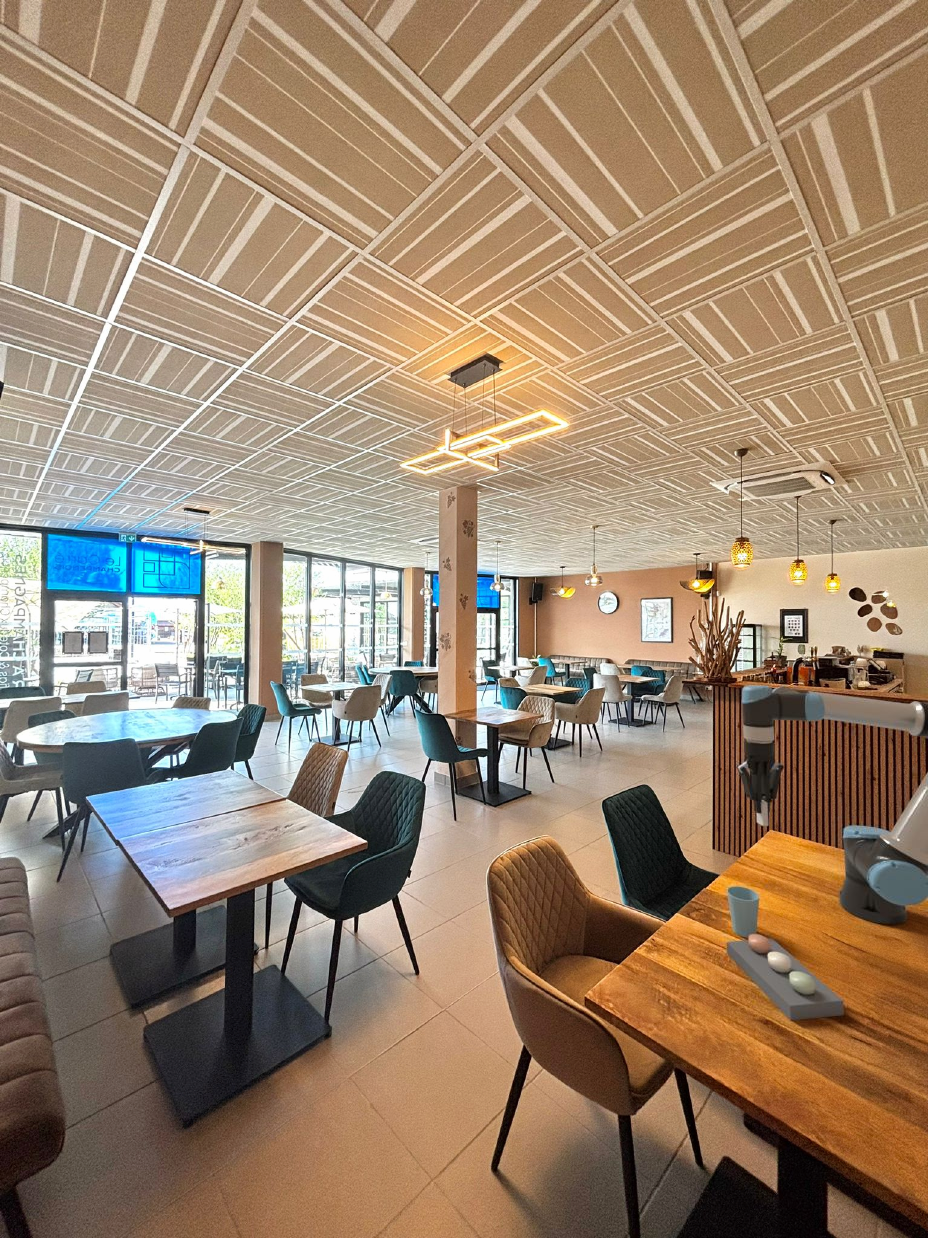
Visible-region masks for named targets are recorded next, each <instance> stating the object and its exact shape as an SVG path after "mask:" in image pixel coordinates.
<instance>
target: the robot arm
mask: <svg viewBox="0 0 928 1238" xmlns="http://www.w3.org/2000/svg"><path fill="white" fill-rule="evenodd" d="M741 692H742V693H741V708H742V709H741V710H742V725H743V726H742V728H743V738H744V741H743V750H744V751H743V752H744V755H745V757H744V759H743V763H742V764H737V765H736V767H735V768H736V769H737V770H738V772H739V774H740V778H741V782H742V786H743V788H744V792H745V796H746V798H748V799H750V800H752V801H753V811H754V813H756V823H757V824H759V825H761V826H762V827H768V826H769V813H770V812H771V809H770V807H771V806H770V805H771V803H772V802H773V800H776V799H777V797H778V790H779V785H780V780H781V779H780V778H781V774H782V773H783V770H784V768H785V766H784V765H783V764H781V763H778V762H777V761H776V758H775V754H776V751H775V748H776V747H775V743H774V740H775V727H774V721H798V722H799V721H800V722H803V721H804V722H815V721H816V722H819V721H822V720H823V719H824V720H831V721H838V722H843V723H844V722H845V723H852V724H857V725H858V724H859V725H864V726H865V725H866V726H872V727H877V728H878V727H879V728H886V729H892V730H899V731H904V732H908V734H910V736H913V737H915V736H916V737H921V738H926V739H928V702H925V701H924V702H923V701H915V700H914V701H912V702H910V703H903V702H895V701H887V700H880V699H873V698H864V697H858V696H849V695H844V694H843V695H842V694H835V693H826V692H821V691H820V692H818V691H812V690H803V689H796V688H790V687H787V686H779V687H776V688H774V689H772V687H771V686H769V685H763V684H762V685H761V684H760V685H758V684H755V685H754V684H752V685H750V684H749V685H745V686H744V687H743V688H742V690H741ZM842 839H843V852H844V854H843V855H844V857H843V858H844V870H845V871H844V872H845V874H844V875H845V876H844V877H845V878H844V880H843V882H842V883H843V884H842V886H841V887H842V888H841V890H840V891H839V895H838V901H839V905H840V906H841V907H842V909H844V910H845V911H847V912H848V913H850V914H852V915H853V916H856V917H858V918H860V919H863V920H866V921H870V922H873V923H876V924H877V923H879V924H882V925H901V924H904V923H905V922H907V920H908V912H907V908H906V907H908V906H916V905H919V904H922V903H923V902H925V901H926V900H927V899H928V772H927V773H926V774H925V776H924V778H923V779H922V781H921V782H920V785H919V786H918V787H917V789H916V790H915V792H914V793H913V795H912V797H911V799H910V801H909V802H908V804H907V805H906V807H905V808H904V810H903V812H902V814H901V815H900V816H899V818H898V820H897V822H895V825H894V826H893V828H892V830H891V831H889V830H886V829H883V828H879V827H874V826H866V825H847V826H845V827H844V828H843V836H842Z"/></svg>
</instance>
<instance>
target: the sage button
mask: <svg viewBox="0 0 928 1238" xmlns="http://www.w3.org/2000/svg"><path fill="white" fill-rule="evenodd" d="M789 976H790V985H791V987H792V988H793V989H795V990H796V991H797V992H798V993H799V994H800V995H801V996H804V995H808V994H813V993H815V981H814V979H813V978H812V977H811V976H809V975H807V974H805V973H802V972H798V971H794V972H791V973H790V974H789Z"/></svg>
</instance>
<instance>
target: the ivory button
mask: <svg viewBox="0 0 928 1238" xmlns="http://www.w3.org/2000/svg"><path fill="white" fill-rule="evenodd" d="M768 964H769V966H770V967H771V968H773V969H774V970H775V971H776V972H777V973H778V974H782V973H786V972H790V971H791V959H790V958H789V957H788V956H786V955H785V954H782V953H779V952H769V953H768Z"/></svg>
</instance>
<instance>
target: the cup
mask: <svg viewBox="0 0 928 1238" xmlns="http://www.w3.org/2000/svg"><path fill="white" fill-rule="evenodd" d="M726 893H727V894H726V895H727V900H728V906H729V914H730V918H731V925H732V930H733V932H734V933H735V934H736V936H739V937H741V938H746V939H749V935H751V934H757V932H758V931H757V930H758V917H759V904H760V895H759V893H758V892H756V891H755V890H753V889H751V888H748V887H745V886H740V885H739V886H738V885H735V886H733V885H732V886H730V887H728V888H726Z"/></svg>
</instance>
